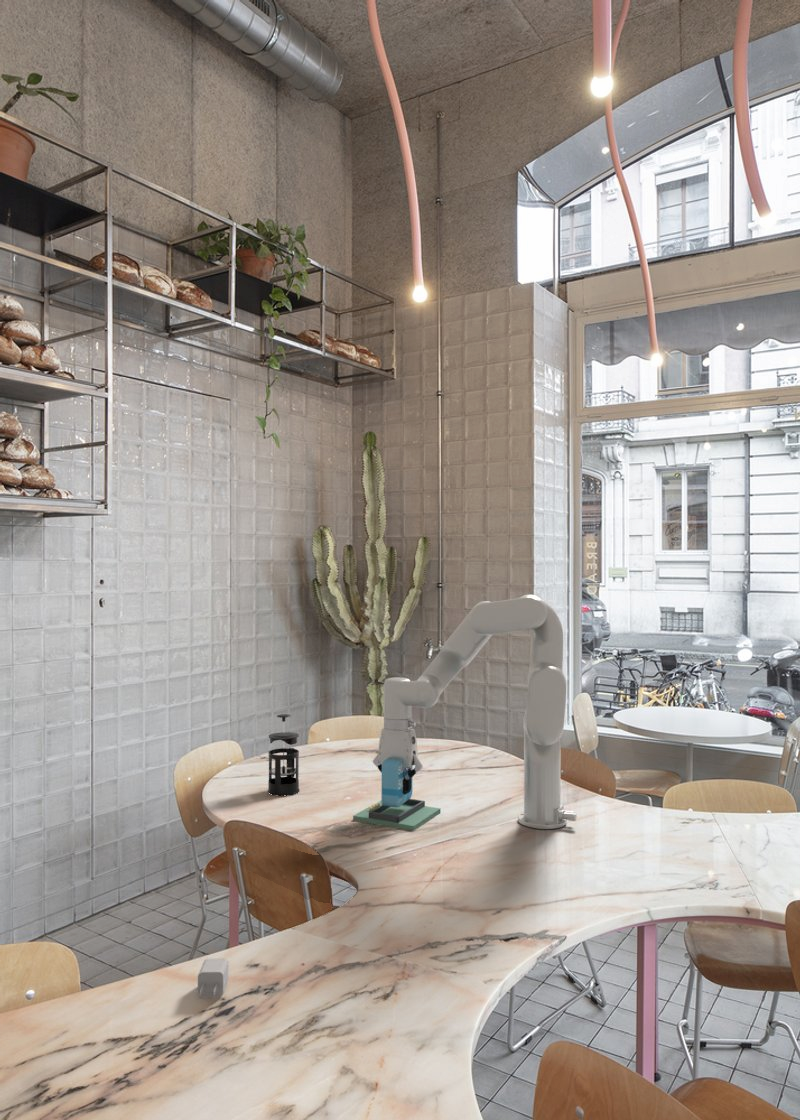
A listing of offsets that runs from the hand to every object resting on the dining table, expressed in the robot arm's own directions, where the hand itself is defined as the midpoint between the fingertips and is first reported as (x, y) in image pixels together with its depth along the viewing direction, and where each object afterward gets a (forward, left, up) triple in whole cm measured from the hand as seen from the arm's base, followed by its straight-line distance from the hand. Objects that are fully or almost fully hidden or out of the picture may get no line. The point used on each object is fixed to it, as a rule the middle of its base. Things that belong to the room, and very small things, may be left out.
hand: (397, 790), depth 214 cm
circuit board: (0, 0, -7) cm, 7 cm away
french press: (+41, -6, -7) cm, 42 cm away
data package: (0, 0, -3) cm, 3 cm away
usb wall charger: (-15, +92, -7) cm, 94 cm away
